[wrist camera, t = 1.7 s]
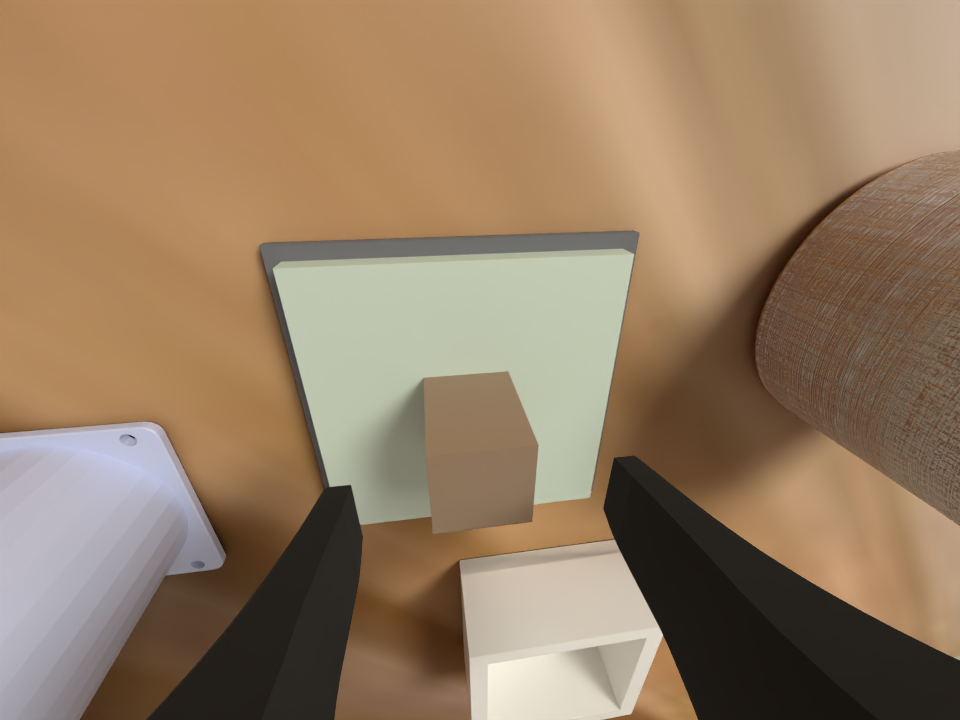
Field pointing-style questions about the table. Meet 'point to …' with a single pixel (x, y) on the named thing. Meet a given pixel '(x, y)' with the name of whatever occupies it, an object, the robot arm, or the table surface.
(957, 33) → the table surface
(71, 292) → the table surface
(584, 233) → the mat
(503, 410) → the lid
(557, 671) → the beige bevelled block
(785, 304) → the planter
